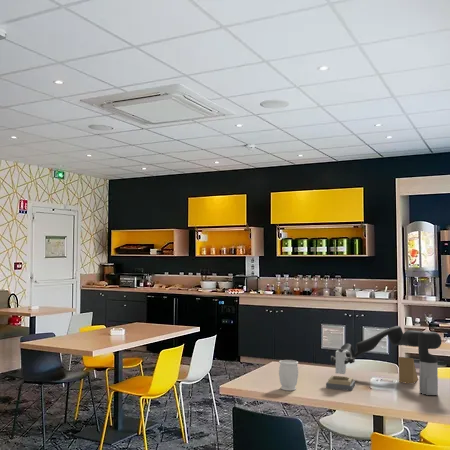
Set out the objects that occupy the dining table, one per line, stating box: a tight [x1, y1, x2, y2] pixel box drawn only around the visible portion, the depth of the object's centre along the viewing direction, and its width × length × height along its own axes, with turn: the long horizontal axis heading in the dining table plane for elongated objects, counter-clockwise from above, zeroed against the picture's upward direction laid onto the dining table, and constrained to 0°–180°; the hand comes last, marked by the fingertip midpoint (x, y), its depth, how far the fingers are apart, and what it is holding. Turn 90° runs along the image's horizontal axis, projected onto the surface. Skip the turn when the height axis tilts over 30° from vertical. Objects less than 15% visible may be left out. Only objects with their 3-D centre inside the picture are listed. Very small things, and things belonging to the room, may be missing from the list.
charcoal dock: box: [325, 375, 356, 392], centre depth 302 cm, size 14×14×4 cm
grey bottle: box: [335, 348, 347, 375], centre depth 303 cm, size 5×5×13 cm
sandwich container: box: [398, 356, 419, 384], centre depth 323 cm, size 9×15×15 cm, turn 150°
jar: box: [278, 359, 299, 392], centre depth 294 cm, size 11×10×15 cm
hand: (340, 361), depth 301 cm, fingers closed on grey bottle, 5 cm apart
